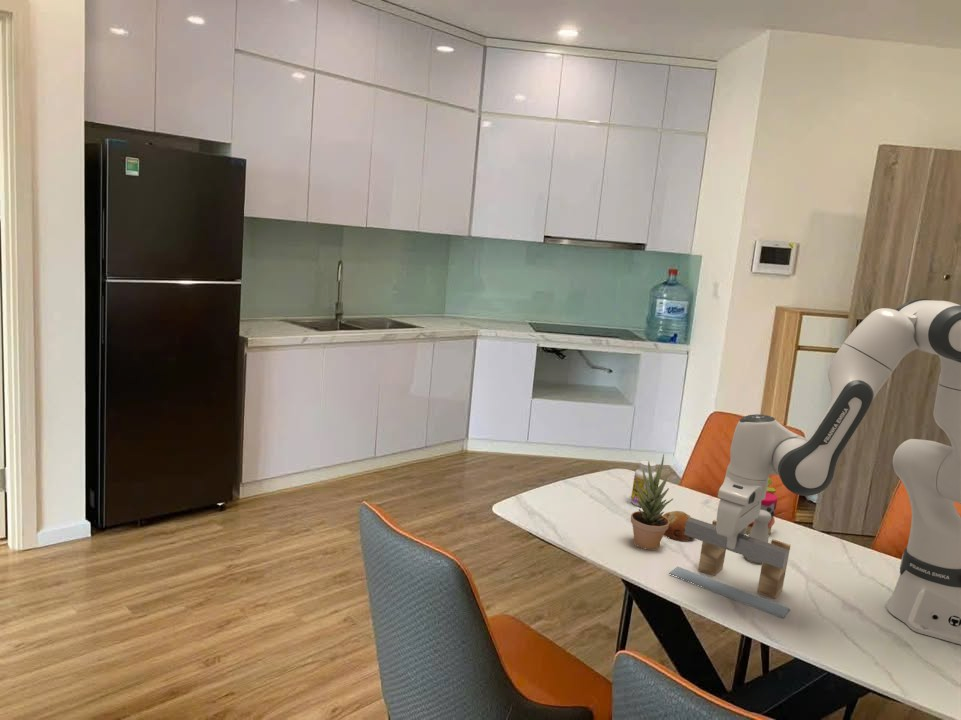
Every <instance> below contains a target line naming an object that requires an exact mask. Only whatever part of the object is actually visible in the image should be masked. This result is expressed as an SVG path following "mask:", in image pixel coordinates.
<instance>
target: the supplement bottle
mask: <svg viewBox="0 0 961 720" xmlns="http://www.w3.org/2000/svg"><path fill="white" fill-rule="evenodd" d="M648 461H649V463H650V467H651V472H652V477H653V482H654V477H656V475H655V474H657V471H655V470H656V469H657V468H656V466H657V464H656V462H654V461H652V460H640V461H639V465H638V466H639V468H638V469H636V470H635V471H634V477H633V485H632V490H631V497H630V503H631V504H633V505H634V506H636V507H639V508H641V507H640V505H639V504H638V502H637V501H636V500H638V501H639V500H640V497H639V495H638V493H637V490H636V487H637V489H638V486H637V484H638V485H639V487H640V488H641V489H642V491H643V492H644V491H645V493H646V495H647V491H646V487H645V483H644V478H643V470H644V473H645V476H646V478H647V481H648V483H649V474H648ZM649 486H650V483H649ZM638 491H639V489H638ZM639 493H640V491H639ZM640 495H641V493H640ZM641 497H642V495H641ZM642 499H643V500H644V498H643V497H642ZM640 501H641V500H640ZM644 501H645V500H644Z"/></svg>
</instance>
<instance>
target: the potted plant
mask: <svg viewBox="0 0 961 720" xmlns="http://www.w3.org/2000/svg"><path fill="white" fill-rule="evenodd" d="M664 459H665V454H664V453H663V454H662V458H661V462H660V464H659V465H658V467H657V471H656V473H657V474H655V475H656V477H654V482H653V477H652V472H651V467H650V463H649V461H650V460H647V461H648V474H649V483H650V486H649V483H648V481H647V478H646V476H645V473H644V470H643V478H644V483H645V487H646V491H647V495H646V493H645V491H644V492H643V491H642V489H641V488H640V487H639V485H638V484H637V486H638V489H639V491H640V493H641V495H642V497H643V498H644V500H645V501H644V500H643V499H642V497H641V495H640V493H639V491H638V489H637V487H636V490H637V493H638V495H639V497H640V500H641V501H640V500H639V501H638V500H636V501H637V502H638V504H639V505H640V507H639V508H638V510H637V511H634V512H632V513H631V514H630V523H631V524H632V531H633V542H634V545H635V544H636V545H635V546H637V545H638V546H639V548H640V547H642V548H641V549H643V548H646V549H645V550H648V549H655V550H657V549H658V548H659V547H660V545H661V540H662V538H663V537H664V533H665V531H666V530H667V529H668V527H669V520H668V519H667V518H666V517H664V516H663V515H664V514H665V511H663V510H664V509H665V508H666V506H667V505H668V504H669V503H671V502H672V501H673V500H674V498H671V499H669V500H668V501H667V499H664V498H665V496H666V495H667V493H668V492H669V490H670V488H669V487H668V488H667V489H665V486H666V484H667V482H668V476H666V477H665V478H664V480H662V482H661V484H660V479H661V475H662V471H663V467H664V463H665V461H664ZM664 489H665V490H664ZM663 490H664V492H663ZM663 499H664V500H663ZM640 508H641V509H642V510H641V509H640ZM638 546H637V547H638Z"/></svg>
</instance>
